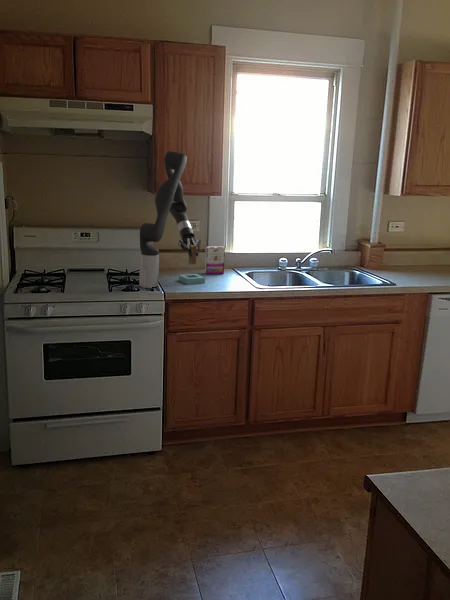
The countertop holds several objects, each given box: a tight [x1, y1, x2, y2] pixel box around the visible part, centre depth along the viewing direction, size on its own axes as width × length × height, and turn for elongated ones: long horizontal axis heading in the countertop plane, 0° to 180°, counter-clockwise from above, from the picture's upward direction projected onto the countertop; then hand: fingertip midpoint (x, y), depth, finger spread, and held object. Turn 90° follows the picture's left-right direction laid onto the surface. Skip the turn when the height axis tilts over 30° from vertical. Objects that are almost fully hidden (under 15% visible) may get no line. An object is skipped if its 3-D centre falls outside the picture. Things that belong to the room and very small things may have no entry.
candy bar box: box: [204, 245, 226, 275], centre depth 339 cm, size 11×5×16 cm, turn 105°
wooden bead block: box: [178, 273, 206, 285], centre depth 316 cm, size 11×11×3 cm
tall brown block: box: [188, 245, 197, 265], centre depth 312 cm, size 3×3×10 cm
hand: (194, 255), depth 311 cm, fingers closed on tall brown block, 3 cm apart
